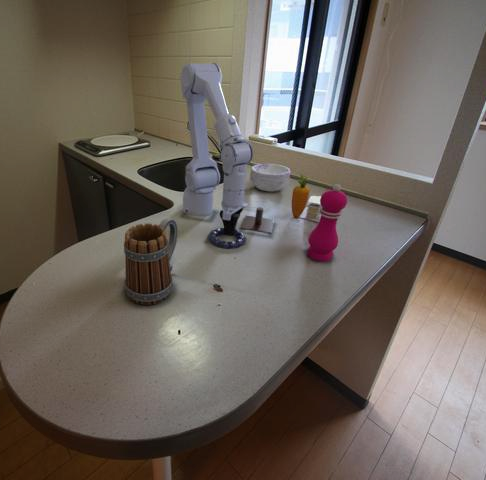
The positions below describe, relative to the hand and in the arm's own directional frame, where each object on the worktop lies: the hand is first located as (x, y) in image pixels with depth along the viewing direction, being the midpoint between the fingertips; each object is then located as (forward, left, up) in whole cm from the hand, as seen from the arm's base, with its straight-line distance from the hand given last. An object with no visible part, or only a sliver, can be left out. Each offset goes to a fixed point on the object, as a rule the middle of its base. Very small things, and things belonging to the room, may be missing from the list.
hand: (229, 231), depth 92 cm
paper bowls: (+6, +44, -2) cm, 44 cm away
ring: (0, -4, 0) cm, 4 cm away
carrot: (+18, +18, -2) cm, 25 cm away
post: (+7, +8, -1) cm, 11 cm away
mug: (-11, -28, -2) cm, 30 cm away
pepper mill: (+25, -2, -2) cm, 25 cm away
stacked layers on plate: (+24, +24, -2) cm, 34 cm away
